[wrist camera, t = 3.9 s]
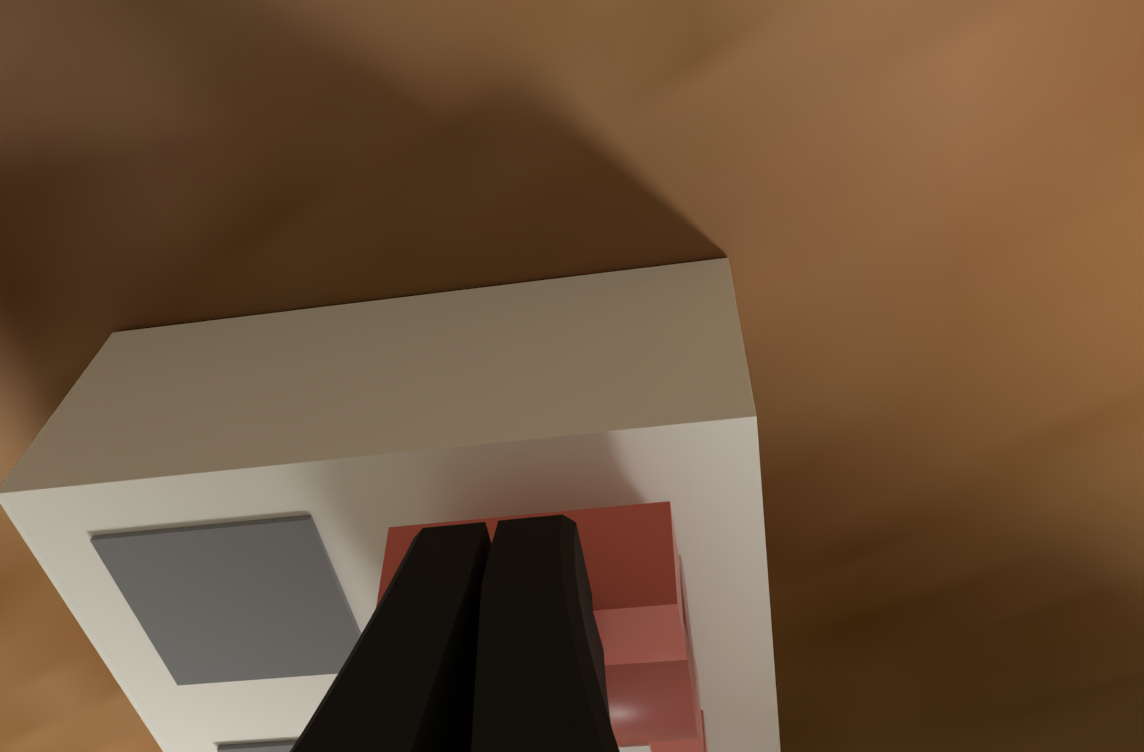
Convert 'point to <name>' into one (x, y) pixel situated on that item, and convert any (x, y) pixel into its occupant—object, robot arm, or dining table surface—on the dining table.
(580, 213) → the dining table surface
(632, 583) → the rocker
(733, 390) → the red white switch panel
